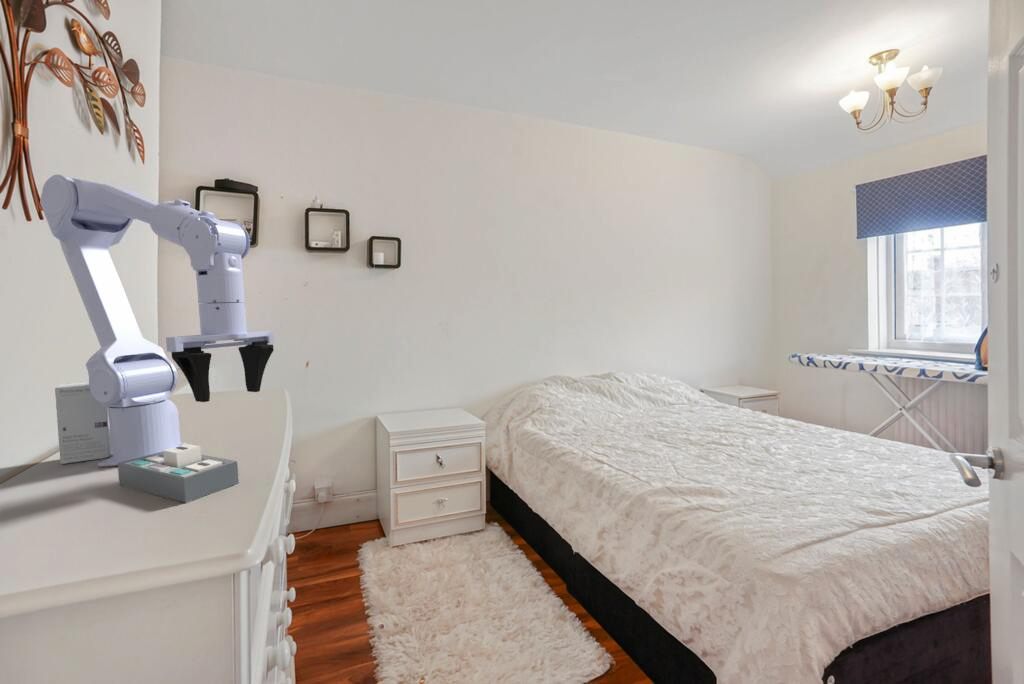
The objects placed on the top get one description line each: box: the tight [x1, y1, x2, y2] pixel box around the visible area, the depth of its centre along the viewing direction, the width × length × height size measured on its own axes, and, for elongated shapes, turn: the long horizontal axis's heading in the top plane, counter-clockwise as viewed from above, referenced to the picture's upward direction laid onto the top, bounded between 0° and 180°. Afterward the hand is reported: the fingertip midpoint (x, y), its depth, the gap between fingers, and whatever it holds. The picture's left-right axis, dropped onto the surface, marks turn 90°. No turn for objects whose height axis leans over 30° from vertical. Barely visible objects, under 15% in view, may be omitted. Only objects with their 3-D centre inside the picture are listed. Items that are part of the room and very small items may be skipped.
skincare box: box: [54, 381, 112, 465], centre depth 74 cm, size 6×4×12 cm
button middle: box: [163, 443, 202, 468], centre depth 62 cm, size 3×3×2 cm
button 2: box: [185, 459, 223, 472], centre depth 60 cm, size 3×3×2 cm
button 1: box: [145, 454, 164, 463], centre depth 64 cm, size 3×3×2 cm
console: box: [117, 451, 240, 504], centre depth 62 cm, size 15×7×3 cm, turn 64°
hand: (229, 396), depth 68 cm, fingers open, 7 cm apart
